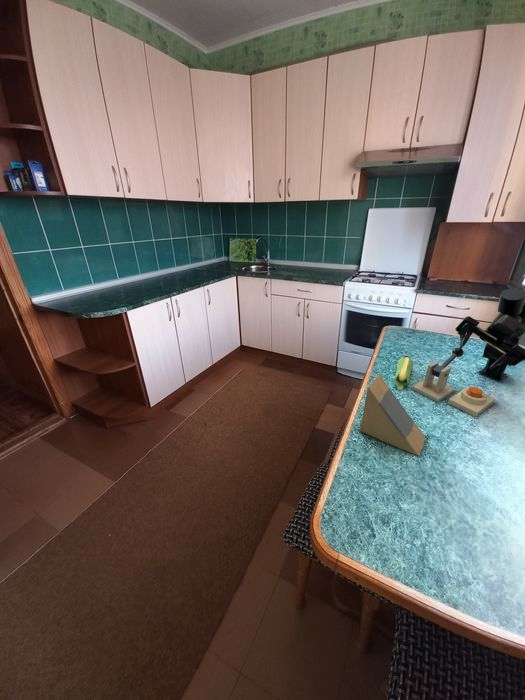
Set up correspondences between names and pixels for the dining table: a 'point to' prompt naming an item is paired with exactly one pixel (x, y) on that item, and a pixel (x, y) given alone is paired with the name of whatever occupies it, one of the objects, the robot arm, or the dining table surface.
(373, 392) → the sandwich container
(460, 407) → the control block
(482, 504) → the dining table surface
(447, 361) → the black lever handle
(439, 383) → the lever stand
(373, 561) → the dining table surface
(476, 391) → the button
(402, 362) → the edible corn
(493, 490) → the dining table surface
